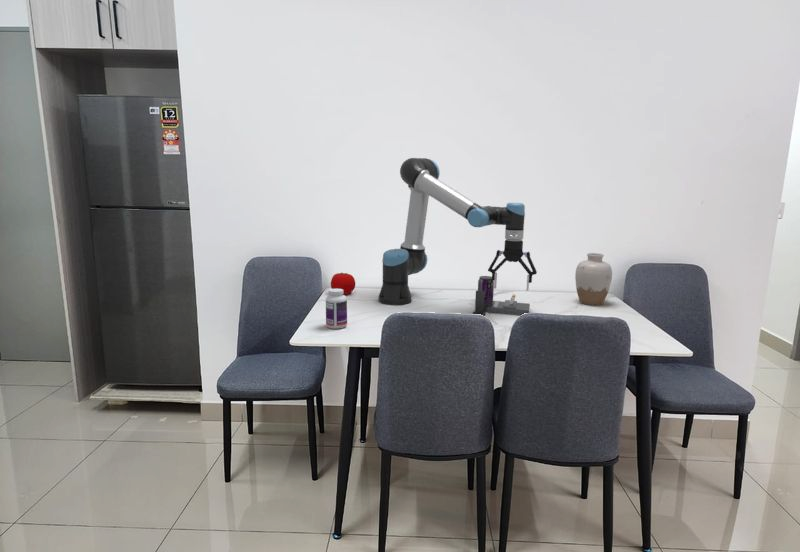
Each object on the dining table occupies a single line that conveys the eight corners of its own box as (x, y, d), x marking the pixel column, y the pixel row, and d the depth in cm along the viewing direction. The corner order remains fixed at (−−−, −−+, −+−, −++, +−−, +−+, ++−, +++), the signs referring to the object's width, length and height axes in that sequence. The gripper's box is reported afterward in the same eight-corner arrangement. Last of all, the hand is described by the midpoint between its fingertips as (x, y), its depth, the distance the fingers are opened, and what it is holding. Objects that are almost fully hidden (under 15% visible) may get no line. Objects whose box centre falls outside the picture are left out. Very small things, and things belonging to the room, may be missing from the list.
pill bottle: (347, 323, 208) (347, 287, 206) (346, 329, 201) (346, 292, 198) (327, 323, 208) (326, 287, 205) (324, 329, 200) (324, 292, 197)
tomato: (325, 293, 259) (325, 272, 257) (345, 289, 266) (345, 269, 264) (340, 297, 250) (340, 275, 248) (360, 294, 258) (360, 273, 256)
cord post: (472, 315, 223) (473, 292, 221) (473, 312, 228) (474, 289, 226) (484, 316, 221) (485, 293, 219) (486, 313, 226) (487, 290, 224)
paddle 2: (509, 303, 226) (512, 298, 225) (509, 301, 229) (512, 296, 228) (511, 304, 226) (514, 299, 225) (512, 302, 229) (515, 298, 228)
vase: (577, 297, 258) (581, 250, 253) (612, 301, 250) (616, 253, 245) (569, 304, 244) (573, 254, 240) (605, 309, 236) (610, 258, 232)
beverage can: (492, 305, 240) (493, 279, 238) (476, 304, 242) (477, 278, 239) (493, 301, 247) (494, 276, 245) (477, 300, 248) (478, 275, 246)
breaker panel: (475, 311, 229) (476, 303, 228) (479, 305, 240) (479, 297, 239) (528, 316, 223) (528, 308, 222) (529, 309, 234) (529, 301, 234)
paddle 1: (510, 300, 231) (512, 295, 230) (510, 298, 234) (513, 294, 233) (512, 301, 231) (515, 296, 230) (513, 300, 233) (515, 295, 233)
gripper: (483, 239, 224) (480, 288, 228) (544, 242, 218) (541, 293, 222) (485, 237, 231) (483, 285, 236) (544, 240, 225) (541, 289, 229)
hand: (511, 289), depth 229 cm, fingers open, 13 cm apart
